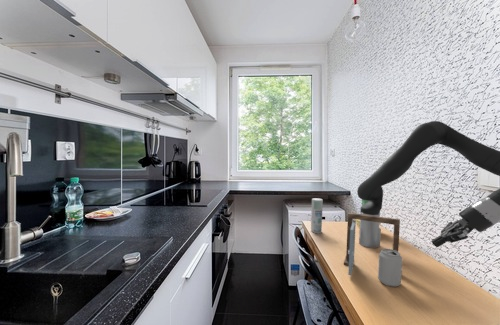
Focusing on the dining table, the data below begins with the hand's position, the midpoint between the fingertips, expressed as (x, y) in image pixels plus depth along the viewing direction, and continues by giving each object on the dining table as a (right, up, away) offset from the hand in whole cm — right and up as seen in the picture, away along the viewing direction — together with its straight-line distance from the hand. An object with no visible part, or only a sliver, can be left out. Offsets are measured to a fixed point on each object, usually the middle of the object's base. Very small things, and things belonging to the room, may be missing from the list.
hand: (433, 244), depth 81 cm
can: (-11, -17, +7) cm, 22 cm away
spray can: (-23, -14, +63) cm, 68 cm away
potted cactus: (+9, -15, +64) cm, 66 cm away
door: (-22, -15, +16) cm, 31 cm away
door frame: (-12, -16, +19) cm, 28 cm away
